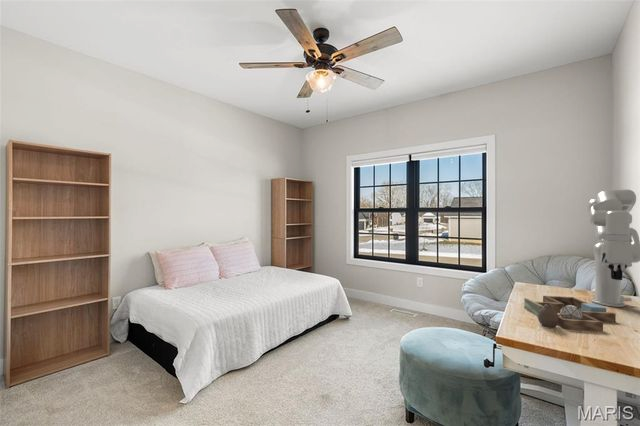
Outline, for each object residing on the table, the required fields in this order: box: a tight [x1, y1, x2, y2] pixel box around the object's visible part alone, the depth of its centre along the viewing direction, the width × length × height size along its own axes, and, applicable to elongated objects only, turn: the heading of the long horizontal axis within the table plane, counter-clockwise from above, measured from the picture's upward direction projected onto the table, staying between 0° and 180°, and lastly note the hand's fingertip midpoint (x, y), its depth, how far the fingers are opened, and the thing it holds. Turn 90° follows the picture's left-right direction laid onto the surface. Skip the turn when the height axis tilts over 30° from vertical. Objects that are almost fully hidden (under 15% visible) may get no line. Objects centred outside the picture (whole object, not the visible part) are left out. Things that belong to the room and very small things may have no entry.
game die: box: [558, 303, 584, 320], centre depth 125 cm, size 9×8×10 cm
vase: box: [537, 304, 559, 329], centre depth 122 cm, size 7×7×9 cm
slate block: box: [581, 302, 607, 312], centre depth 134 cm, size 6×6×5 cm
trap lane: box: [523, 295, 617, 332], centre depth 136 cm, size 30×38×5 cm
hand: (616, 279), depth 133 cm, fingers closed
